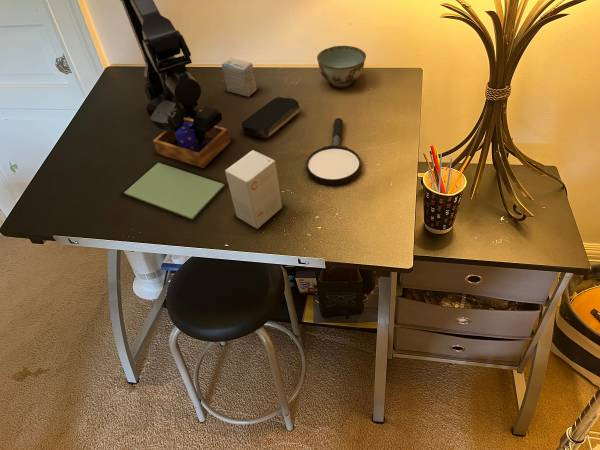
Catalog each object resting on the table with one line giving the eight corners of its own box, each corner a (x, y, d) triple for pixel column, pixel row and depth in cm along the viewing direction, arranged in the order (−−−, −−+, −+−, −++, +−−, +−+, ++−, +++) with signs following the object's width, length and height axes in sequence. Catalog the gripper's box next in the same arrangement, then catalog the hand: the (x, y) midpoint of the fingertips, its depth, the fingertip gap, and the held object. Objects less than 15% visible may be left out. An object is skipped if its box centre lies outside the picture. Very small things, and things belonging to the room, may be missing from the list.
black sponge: (265, 144, 116) (263, 131, 113) (240, 134, 119) (237, 122, 117) (303, 112, 124) (302, 100, 122) (278, 104, 128) (277, 92, 126)
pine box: (157, 153, 116) (152, 140, 113) (186, 129, 123) (182, 116, 120) (203, 168, 111) (199, 155, 108) (230, 141, 118) (227, 128, 115)
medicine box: (257, 90, 134) (252, 62, 128) (248, 97, 132) (243, 69, 126) (236, 84, 138) (230, 57, 131) (226, 91, 135) (221, 64, 129)
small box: (261, 196, 102) (252, 148, 93) (282, 207, 99) (276, 159, 90) (235, 217, 98) (223, 170, 89) (257, 230, 95) (247, 182, 86)
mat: (124, 194, 106) (123, 192, 106) (158, 164, 113) (158, 162, 113) (192, 220, 99) (191, 218, 98) (224, 186, 106) (224, 184, 105)
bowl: (313, 93, 131) (312, 66, 125) (322, 70, 140) (321, 44, 134) (361, 95, 128) (362, 68, 122) (367, 72, 137) (368, 45, 131)
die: (206, 140, 117) (202, 123, 114) (197, 152, 114) (193, 135, 110) (189, 138, 119) (184, 121, 115) (180, 149, 115) (174, 133, 112)
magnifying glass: (363, 125, 118) (363, 117, 117) (359, 187, 102) (359, 179, 100) (314, 124, 120) (314, 117, 118) (303, 185, 104) (303, 178, 102)
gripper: (120, 94, 103) (142, 150, 114) (185, 112, 96) (202, 170, 107) (153, 71, 110) (171, 126, 121) (216, 86, 103) (229, 143, 114)
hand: (192, 141), depth 116 cm, fingers closed on die, 5 cm apart
